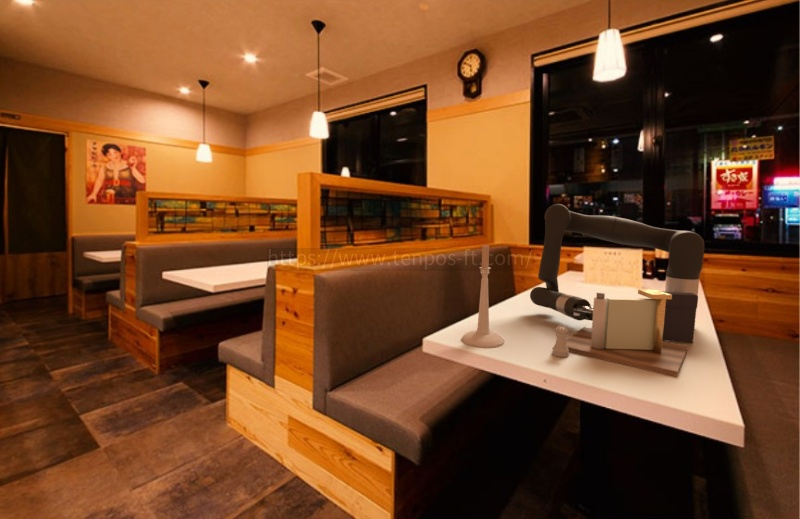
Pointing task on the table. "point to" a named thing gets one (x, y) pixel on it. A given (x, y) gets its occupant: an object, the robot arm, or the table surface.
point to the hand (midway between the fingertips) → (611, 320)
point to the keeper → (657, 315)
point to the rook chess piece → (561, 342)
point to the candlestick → (483, 313)
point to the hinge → (623, 323)
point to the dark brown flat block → (680, 317)
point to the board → (631, 354)
